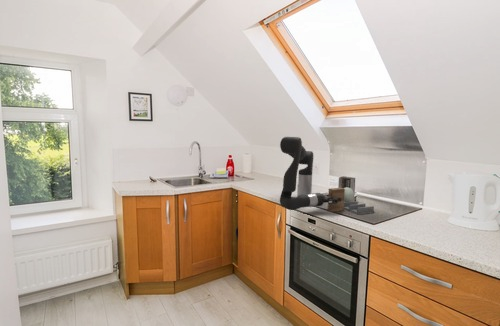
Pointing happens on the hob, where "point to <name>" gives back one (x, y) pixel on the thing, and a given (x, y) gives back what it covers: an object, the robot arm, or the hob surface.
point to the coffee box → (347, 183)
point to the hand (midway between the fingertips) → (336, 197)
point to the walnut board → (336, 197)
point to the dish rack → (358, 208)
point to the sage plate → (348, 195)
